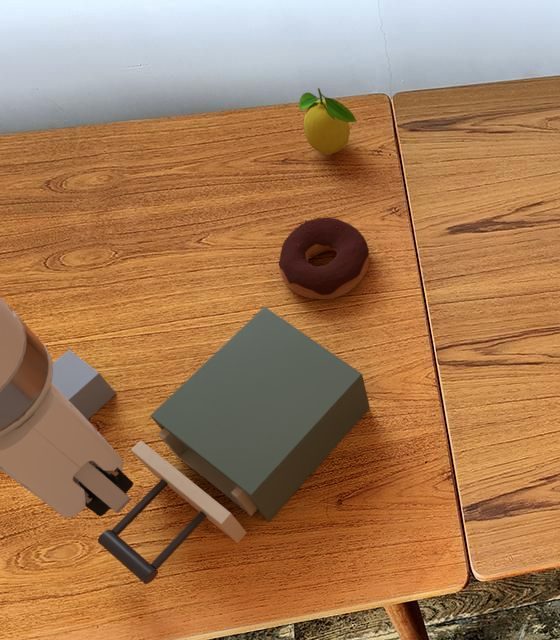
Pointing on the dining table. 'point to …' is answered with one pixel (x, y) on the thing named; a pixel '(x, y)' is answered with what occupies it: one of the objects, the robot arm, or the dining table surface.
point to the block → (81, 384)
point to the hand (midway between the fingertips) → (101, 486)
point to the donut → (332, 276)
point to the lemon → (325, 123)
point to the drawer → (188, 493)
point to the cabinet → (266, 409)
